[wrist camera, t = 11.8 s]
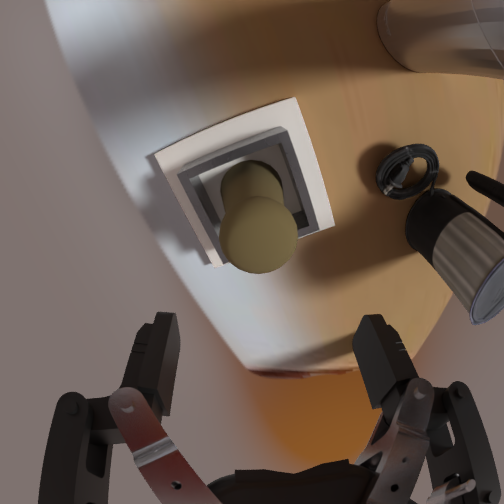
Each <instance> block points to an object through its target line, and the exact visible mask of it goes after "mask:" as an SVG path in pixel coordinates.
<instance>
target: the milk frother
mask: <svg viewBox="0 0 504 504" xmlns="http://www.w3.org/2000/svg"><path fill="white" fill-rule="evenodd" d="M417 157H421V158H424V159H425V160H426V162H427V171H426V173H425V175H424V177H423V178H422V179H421V180H420V181H419V182H418V183H416V184H415V185H413V186H411V187H408V188H405V189H393V187H397V188H402V185H401V183H402V182H403V181H404V179H405V177H406V175H407V172H408V171H409V166H410V165H411V164H412V163H413V162H414V160H413V159H414V158H417ZM438 171H439V160H438V157H437V155H436V153H435V151H434V150H433V149H432V148H431V147H429V146H427V145H424V144H412V145H407V146H404V147H401V148H398V149H396V150H394V151H393V152H391V153H390V154H389V155H387V156H386V157H385V158H384V159H383V160H382V162H381V163H380V165H379V167H378V169H377V172H376V182H377V185H378V187H379V189H380V190H381V192H382V193H383V194H385V195H386V196H389V197H390V198H393V199H398V200H402V199H406V198H409V197H412V196H415V195H416V194H418V193H420V192H421V191H423V190H424V189H425V188H426V187H427V186H428V185H429V184H430V183H431V181H432V180H433V181H432V184H431V188H430V191H428V192H426V193H425V194H423V195H422V196H421V197H420V198H419V199H418V200H417V201H416V203H415V204H414V205H413V207H412V208H411V210H410V213H409V215H408V218H407V222H406V238H407V241H408V243H409V244H410V246H411V247H412V248H413V249H415V250H417V251H418V252H419V253H420V254H421V255H422V256H423V257H424V258H425V259H426V260H427V261H428V262H429V263H430V264H431V265H432V267H433V268H434V269H435V270H436V271H437V272H438V274H439V275H440V276H441V278H442V279H443V280H444V281H445V282H446V284H447V285H448V286H449V287H450V289H451V290H452V291H453V293H454V294H455V295H456V296H457V298H458V299H459V300H460V302H461V303H462V305H463V306H464V307H465V309H466V310H467V311H468V313H469V314H470V320H471V323H472V324H473V325H477V324H478V325H479V324H482V323H485V322H487V321H489V320H490V319H491V318H493V317H495V316H496V315H497V314H498V313H499V312H500V311H501V310H502V309H503V308H504V232H502V231H501V230H500V229H498V228H497V227H496V226H495V225H494V224H493V223H491V222H490V221H489V220H488V219H486V218H485V217H484V216H483V215H481V214H480V213H479V212H477V211H476V210H475V209H473V208H472V207H470V206H469V205H467V204H466V203H464V202H463V201H462V200H460V199H459V198H457V197H456V196H455V195H451V193H450V192H448V191H446V190H444V189H434V185H435V181H436V179H437V175H438ZM466 180H467V182H468V184H469V185H470V186H471V187H472V188H473V189H474V190H476V191H477V192H479V193H481V194H483V195H485V196H486V197H488V198H490V199H492V200H493V201H495V202H496V203H498V204H500V205H501V206H503V207H504V184H502V183H500V182H498V181H496V180H494V179H491V178H489V177H487V176H485V175H483V174H480V173H478V172H475V171H469V172H468V173H467V175H466Z"/></svg>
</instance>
